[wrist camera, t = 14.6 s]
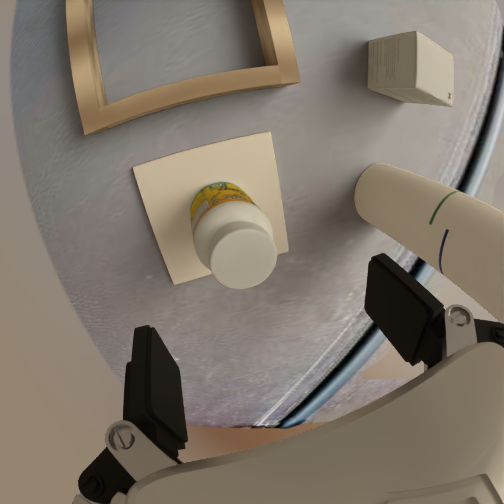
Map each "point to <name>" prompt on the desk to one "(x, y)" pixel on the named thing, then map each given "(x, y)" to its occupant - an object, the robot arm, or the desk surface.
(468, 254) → the cylindrical container
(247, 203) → the supplement bottle
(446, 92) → the product box
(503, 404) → the robot arm
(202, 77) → the wooden square frame
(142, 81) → the desk surface
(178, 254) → the pad
